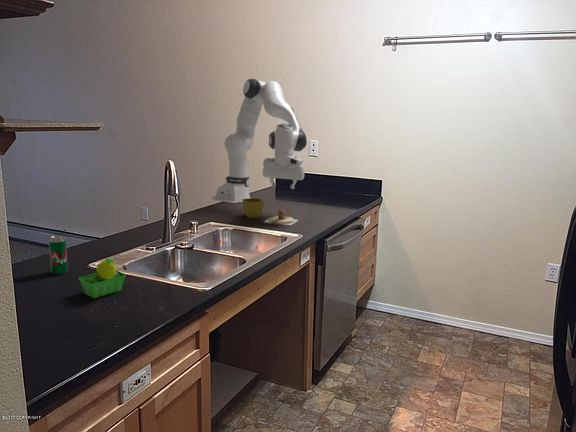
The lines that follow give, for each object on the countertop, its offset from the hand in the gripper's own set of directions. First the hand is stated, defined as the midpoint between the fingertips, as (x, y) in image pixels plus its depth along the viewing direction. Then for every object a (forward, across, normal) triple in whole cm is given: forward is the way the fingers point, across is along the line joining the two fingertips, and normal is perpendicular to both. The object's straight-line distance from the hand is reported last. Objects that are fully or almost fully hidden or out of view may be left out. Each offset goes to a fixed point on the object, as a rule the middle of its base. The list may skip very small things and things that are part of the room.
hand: (282, 187), depth 235 cm
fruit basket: (+17, -19, -107) cm, 110 cm away
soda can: (+17, -43, -99) cm, 109 cm away
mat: (+17, 0, 0) cm, 17 cm away
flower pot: (+17, -16, +2) cm, 24 cm away
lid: (+16, 0, 0) cm, 16 cm away
